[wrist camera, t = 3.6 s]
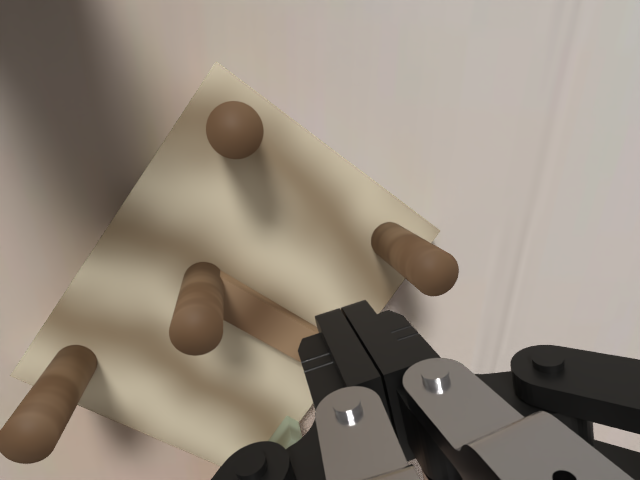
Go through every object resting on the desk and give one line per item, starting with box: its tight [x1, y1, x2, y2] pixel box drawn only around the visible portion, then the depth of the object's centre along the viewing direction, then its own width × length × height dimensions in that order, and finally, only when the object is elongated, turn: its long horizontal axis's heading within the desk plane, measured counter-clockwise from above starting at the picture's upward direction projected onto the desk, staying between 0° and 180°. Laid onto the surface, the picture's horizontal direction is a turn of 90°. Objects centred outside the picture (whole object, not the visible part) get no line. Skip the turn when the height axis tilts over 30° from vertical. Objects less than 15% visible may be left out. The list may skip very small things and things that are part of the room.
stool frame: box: [0, 62, 459, 466], centre depth 25 cm, size 22×17×9 cm
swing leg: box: [169, 262, 319, 362], centre depth 25 cm, size 11×2×7 cm, turn 55°
